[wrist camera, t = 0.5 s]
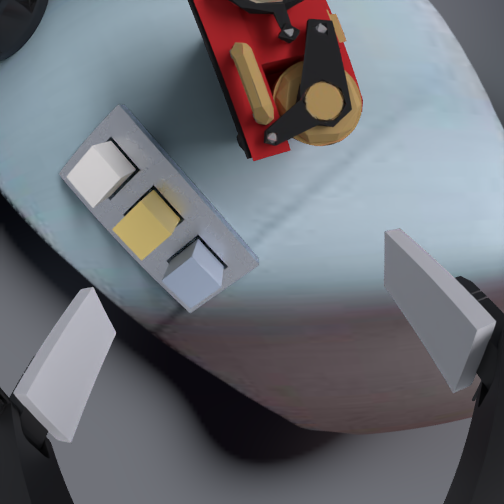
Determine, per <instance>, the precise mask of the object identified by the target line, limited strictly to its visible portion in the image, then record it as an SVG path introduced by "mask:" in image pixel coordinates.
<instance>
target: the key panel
mask: <svg viewBox="0 0 504 504" xmlns="http://www.w3.org/2000/svg"><path fill="white" fill-rule="evenodd" d="M113 139H114V140H115V141H116V143H117V144H118V145H119V146H120V147H121V148H122V150H123V151H124V152H125V153H126V154H127V155H128V156H129V158H130V159H131V160H132V161H133V162H134V163H135V164H136V166H137V167H138V168H139V169H140V171H139V172H138V173H137V174H136V175H135V176H134V177H133V178H132V179H131V180H130V181H129V182H128V183H127V184H126V185H125V186H124V187H123V188H122V189H121V190H120V191H119V192H118V193H117V194H116V195H115V194H114V193H113V194H112V195H111V196H110V197H108V198H107V199H105V200H104V201H103V202H101V203H100V204H98V205H97V206H95V207H94V208H93V207H92V206H91V205H90V204H89V203H88V202H87V201H86V199H85V198H84V197H83V196H82V195H81V194H80V192H79V191H78V190H77V189H76V188H75V187H74V185H73V184H72V183H71V182H70V181H69V179H68V178H67V176H68V174H69V173H70V172H71V171H72V169H73V168H74V167H75V166H76V164H77V163H78V162H79V161H80V160H81V158H82V157H83V156H84V155H85V154H86V152H87V151H88V150H89V149H90V148H91V147H92V146H93V145H97V144H100V143H104V142H108V141H112V140H113ZM59 175H60V176H61V177H62V179H63V180H64V181H65V182H66V183H67V185H68V186H69V187H70V188H71V189H72V191H73V192H74V193H75V194H76V195H77V196H78V198H79V199H80V200H81V201H82V202H83V203H84V205H85V206H86V207H87V208H88V209H89V210H90V211H91V212H92V214H93V215H94V216H95V217H96V218H97V219H98V220H99V221H100V223H101V224H102V225H103V226H104V227H105V228H106V229H107V230H108V231H109V232H110V234H111V235H112V236H113V237H114V238H115V239H116V240H117V241H118V242H119V243H120V244H121V245H122V246H123V247H124V248H125V250H126V251H127V252H128V253H129V254H130V255H131V256H132V257H133V258H134V259H135V260H136V261H137V262H138V263H139V264H140V265H141V266H142V267H143V268H144V269H145V270H146V271H147V272H148V273H149V274H150V275H151V276H152V277H153V278H154V279H155V280H156V281H157V282H158V283H159V284H160V285H161V286H162V287H163V288H164V289H165V290H166V291H167V292H168V293H169V294H170V295H171V296H172V297H173V298H174V299H176V300H177V301H178V302H179V303H180V304H181V305H182V306H183V307H184V308H185V309H186V310H187V311H188V312H189V313H191V312H193V311H194V310H195V309H197V308H198V307H200V306H201V305H203V304H204V303H206V302H207V301H208V300H210V299H211V298H213V297H214V296H216V295H217V294H218V293H220V292H221V291H223V290H224V289H226V288H227V287H228V286H230V285H231V284H233V283H234V282H236V281H237V280H238V279H240V278H241V277H243V276H244V275H246V274H247V273H248V272H250V271H251V270H253V269H254V268H255V267H257V266H258V265H259V258H258V256H257V255H256V254H255V253H254V252H253V251H252V250H251V248H250V247H249V246H248V245H247V244H246V243H245V242H244V240H243V239H242V238H241V237H240V236H239V235H238V234H237V232H236V231H235V230H234V229H233V228H232V227H231V225H230V224H229V223H228V222H227V221H226V220H225V219H224V217H223V216H222V215H221V214H220V213H219V212H218V211H217V209H216V208H215V207H214V206H213V205H212V204H211V203H210V201H209V200H208V199H207V198H206V197H205V196H204V195H203V193H202V192H201V191H200V190H199V189H198V188H197V187H196V185H195V184H194V183H193V182H192V181H191V180H190V179H189V177H188V176H187V175H186V174H185V173H184V172H183V171H182V169H181V168H180V167H179V166H178V165H177V164H176V163H175V161H174V160H173V159H172V158H171V157H170V156H169V155H168V153H167V152H166V151H165V150H164V149H163V148H162V147H161V145H160V144H159V143H158V142H157V141H156V140H155V139H154V137H153V136H152V135H151V134H150V133H149V132H148V131H147V129H146V128H145V127H144V126H143V125H142V124H141V123H140V121H139V120H138V119H137V118H136V117H135V116H134V115H133V113H132V112H131V111H130V110H129V109H128V108H127V107H126V106H125V105H123V104H118V105H117V106H116V107H115V108H114V109H113V110H112V111H111V113H110V114H109V115H108V116H107V117H106V118H105V119H104V120H103V121H102V122H101V123H100V124H99V125H98V127H97V128H96V129H95V130H94V131H93V132H92V133H91V134H90V136H89V137H88V138H87V139H86V140H85V141H84V143H83V144H82V145H81V146H80V147H79V149H78V150H77V151H76V152H75V154H74V155H73V156H72V157H71V159H70V160H69V161H68V162H67V164H66V165H65V166H64V167H63V169H62V170H61V171H60V173H59ZM152 186H155V187H156V188H157V189H158V190H159V192H160V193H161V194H162V195H163V196H164V197H165V198H166V199H167V200H168V202H169V203H170V204H171V205H172V206H173V207H174V208H175V209H176V211H177V212H178V213H179V214H180V215H181V216H182V217H183V219H182V220H181V221H179V222H178V224H177V226H176V228H175V229H174V231H173V233H172V235H171V236H169V237H168V238H167V239H166V240H165V241H164V242H162V243H161V244H160V245H159V246H158V247H157V248H156V249H154V250H153V251H152V252H151V253H150V254H149V255H148V256H146V257H145V258H144V259H143V260H141V259H140V258H139V257H138V256H137V255H136V254H135V253H134V252H133V251H132V250H131V249H130V248H129V247H128V246H127V245H126V244H125V243H124V242H123V241H122V240H121V238H120V237H119V236H118V235H117V234H116V233H115V232H114V231H113V230H112V229H113V228H114V227H115V226H116V225H117V224H118V223H119V222H120V221H121V220H122V219H123V218H124V217H125V216H126V215H127V214H128V213H129V212H130V211H129V209H130V208H131V207H132V206H133V205H134V204H135V203H136V202H137V201H138V200H139V199H140V198H141V197H142V196H143V195H144V194H145V193H146V192H147V191H148V190H149V189H150V188H151V187H152ZM197 235H199V236H200V237H201V238H202V239H203V240H204V241H205V242H206V243H207V245H208V246H209V247H210V248H211V249H212V250H213V251H214V252H215V253H216V254H217V255H218V256H219V257H220V259H221V260H222V261H223V262H224V264H222V265H223V266H224V268H223V277H222V286H221V288H219V289H218V290H216V291H215V292H214V293H212V294H211V295H209V296H208V297H207V298H205V299H204V300H202V301H201V302H199V303H198V304H197V305H195V306H194V307H192V308H191V309H190V308H189V307H188V306H187V305H186V304H185V303H184V302H183V301H182V300H181V299H180V298H179V297H178V296H177V295H176V294H175V293H173V292H172V291H171V290H170V289H169V288H168V287H167V286H166V285H165V284H164V283H163V282H162V279H163V276H164V274H165V272H166V270H167V267H168V265H169V263H170V261H171V260H172V259H173V257H172V255H174V254H175V253H176V252H177V251H178V250H180V249H181V248H182V247H183V246H185V245H186V244H187V243H188V242H189V241H191V240H192V239H193V238H194V237H196V236H197Z"/></svg>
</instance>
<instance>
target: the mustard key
mask: <svg viewBox="0 0 504 504" xmlns="http://www.w3.org/2000/svg"><path fill="white" fill-rule="evenodd" d="M179 221H180V218H179V217H178V216H177V215H176V214H175V213H174V212H173V210H172V209H171V208H170V207H169V206H168V205H167V204H166V203H165V202H164V200H163V199H162V198H161V197H160V196H159V195H158V194H157V193H156V192H155V190H152V191H151V192H150V193H149V194H148V195H147V196H146V197H144V198H143V199H142V200H141V201H140V202H139V203H138V204H137V205H136V206H135V207H134V208H133V209H132V210H131V211H130V212H129V213H128V214H127V215H126V216H125V217H124V218H123V219H122V220H121V221H120V222H119V223H118V224H117V225H116V226H115V227H114V228H113V229H112V230H113V231H114V232H115V233H116V234H117V235H118V236H119V237H120V238H121V240H122V241H123V242H124V243H125V244H126V245H127V246H128V247H129V248H130V249H131V250H132V251H133V252H134V253H135V254H136V255H137V256H138V257H139V258H140V259H141V260H143V259H144V258H145V257H146V256H148V255H149V254H150V253H151V252H152V251H153V250H154V249H156V248H157V247H158V246H159V245H160V244H161V243H162V242H164V241H165V240H166V239H167V238H168V237H169V236H171V235H172V233H173V231H174V229H175V228H176V226H177V224H178V222H179Z"/></svg>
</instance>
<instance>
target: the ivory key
mask: <svg viewBox="0 0 504 504" xmlns="http://www.w3.org/2000/svg"><path fill="white" fill-rule="evenodd" d="M135 170H136V169H135V168H134V167H133V165H132V164H131V163H130V162H129V161H128V160H127V159H126V157H125V156H124V155H123V154H122V153H121V152H120V150H119V149H118V148H117V147H116V146H115V145H114V144H113V142H112V141H108V142H104V143H100V144H97V145H93V146H92V147H91V148H90V149H89V150H88V151H87V152H86V154H85V155H84V156H83V157H82V158H81V160H80V161H79V162H78V163H77V164H76V166H75V167H74V168H73V169H72V171H71V172H70V173H69V174H68V176H67V178H68V179H69V181H70V182H71V183H72V184H73V185H74V187H75V188H76V189H77V190H78V191H79V192H80V194H81V195H82V196H83V197H84V198H85V199H86V201H87V202H88V203H89V204H90V205H91V206H92V207H93V208H94V207H95V206H97V205H98V204H100V203H101V202H103V201H104V200H105V199H107V198H108V197H110V196H111V195H112V194H113V193H114V192H115V191H116V190H117V189H118V188H119V187H120V186H121V184H122V183H123V182H124V181H125V180H126V179H127V178H128V177H129V176H130V175H131V174H132V173H133V172H134V171H135Z"/></svg>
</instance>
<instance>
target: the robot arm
mask: <svg viewBox="0 0 504 504" xmlns="http://www.w3.org/2000/svg"><path fill="white" fill-rule="evenodd" d="M47 3H48V0H0V60H3V59H6V58H8V57H9V56H11V55H12V54H14V53H15V52H16V51H18V50H19V49H20V48H21V47H22V46H23V45H24V44H25V43H26V41H27V40H28V39H29V38H30V36H31V35H32V34H33V32H34V31H35V29H36V28H37V26H38V24H39V22H40V21H41V19H42V16H43V14H44V12H45V9H46V6H47ZM384 287H385V288H386V290H387V291H388V292H389V294H390V295H391V297H392V298H393V300H394V301H395V302H396V304H397V305H398V307H399V308H400V310H401V311H402V313H403V314H404V316H405V317H406V318H407V320H408V321H409V323H410V324H411V326H412V327H413V329H414V330H415V332H416V334H417V335H418V337H419V338H420V340H421V341H422V343H423V344H424V346H425V347H426V349H427V351H428V352H429V354H430V355H431V357H432V359H433V360H434V362H435V363H436V365H437V367H438V368H439V370H440V372H441V373H442V375H443V377H444V378H445V380H446V382H447V383H448V385H449V387H450V389H451V390H452V392H453V393H455V392H457V391H459V390H462V389H464V388H466V387H468V386H470V385H471V384H472V382H473V380H474V378H475V375H476V373H477V374H478V376H479V377H480V379H481V382H480V385H479V387H478V389H477V391H476V393H475V394H474V397H473V399H472V401H475V399H476V403H475V408H474V412H473V416H472V421H471V425H470V428H469V432H468V436H467V439H466V443H465V446H464V450H463V453H462V456H461V459H460V462H459V465H458V468H457V470H456V473H455V476H454V479H453V482H452V484H451V487H450V489H449V492H448V494H447V497H446V499H445V501H444V504H504V313H503V312H502V311H501V310H500V309H499V308H498V307H497V306H496V305H495V304H494V303H493V302H492V301H491V300H490V299H489V298H487V296H486V295H485V294H484V293H483V292H482V291H480V289H479V288H478V287H477V286H476V285H475V284H474V283H473V282H471V281H469V280H467V279H465V278H464V277H462V276H459V277H456V278H454V277H453V276H452V275H451V274H450V273H449V272H448V271H447V270H446V269H445V268H444V267H443V266H442V265H440V264H439V263H438V262H437V261H436V260H435V259H434V258H433V257H432V256H431V255H430V254H429V253H427V252H426V251H425V250H424V249H423V248H422V247H421V246H420V245H419V244H417V243H416V242H415V241H414V240H413V239H412V238H411V237H409V236H408V235H407V234H406V233H405V232H404V231H403V230H401V229H400V228H399V229H394V230H389V231H385V265H384ZM115 335H116V332H115V330H114V328H113V326H112V324H111V323H110V320H109V318H108V316H107V314H106V312H105V311H104V309H103V307H102V305H101V302H100V300H99V298H98V296H97V294H96V292H95V290H94V288H93V287H91V288H86V289H81V290H80V291H79V292H78V294H77V295H76V297H75V298H74V299H73V301H72V302H71V303H70V305H69V306H68V308H67V309H66V311H65V312H64V313H63V315H62V316H61V318H60V319H59V321H58V322H57V324H56V325H55V326H54V328H53V329H52V331H51V332H50V334H49V335H48V337H47V338H46V340H45V341H44V343H43V344H42V346H41V347H40V349H39V351H38V352H37V354H36V355H35V356H34V357H33V359H32V360H31V362H30V363H29V365H28V367H27V368H26V370H25V372H24V374H23V375H22V377H21V379H20V380H19V382H18V383H17V385H16V387H15V389H14V390H13V392H12V394H11V396H10V398H9V397H8V396H7V395H6V394H5V393H4V391H3V390H2V389H1V388H0V504H74V503H73V501H72V498H71V496H70V494H69V491H68V489H67V486H66V484H65V481H64V479H63V476H62V474H61V471H60V468H59V465H58V463H57V460H56V457H55V454H54V451H53V448H52V445H51V442H50V441H49V439H48V438H47V437H46V435H47V433H48V432H50V434H51V435H52V436H54V437H55V438H56V439H57V440H60V441H65V442H72V439H73V437H74V434H75V431H76V428H77V426H78V423H79V420H80V418H81V415H82V412H83V410H84V407H85V405H86V402H87V400H88V397H89V395H90V392H91V390H92V387H93V385H94V382H95V380H96V378H97V375H98V373H99V371H100V368H101V366H102V364H103V361H104V359H105V357H106V354H107V352H108V350H109V348H110V345H111V343H112V341H113V339H114V337H115ZM476 397H477V398H476Z"/></svg>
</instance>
